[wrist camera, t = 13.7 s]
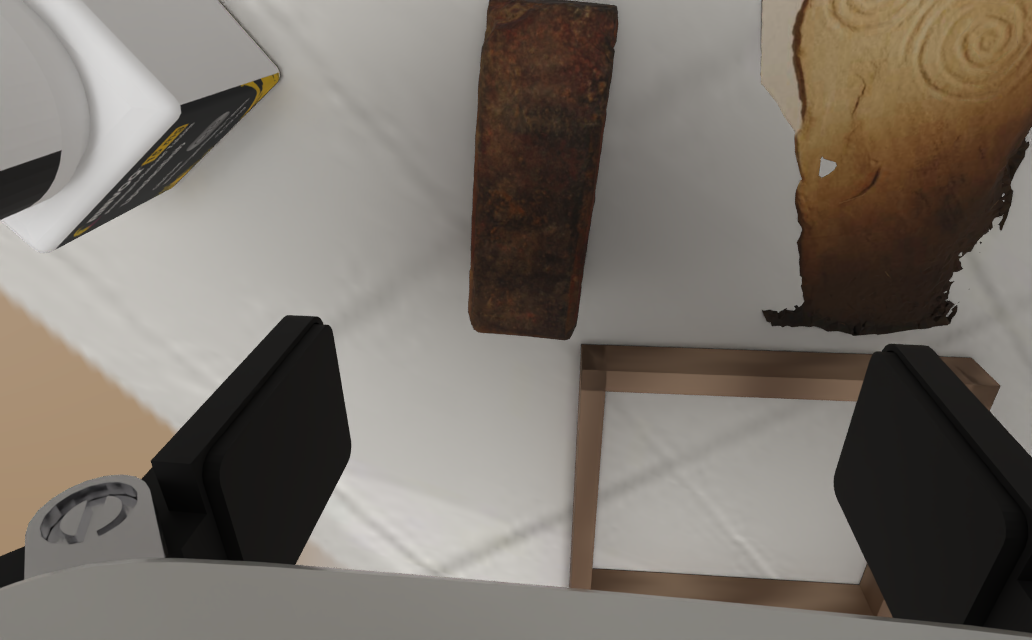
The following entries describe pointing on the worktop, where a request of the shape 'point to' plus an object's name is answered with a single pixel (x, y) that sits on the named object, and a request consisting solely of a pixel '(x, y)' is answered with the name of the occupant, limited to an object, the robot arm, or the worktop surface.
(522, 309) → the brick
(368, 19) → the worktop surface
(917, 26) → the parchment
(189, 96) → the medicine bottle
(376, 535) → the worktop surface
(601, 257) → the worktop surface
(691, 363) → the rack
